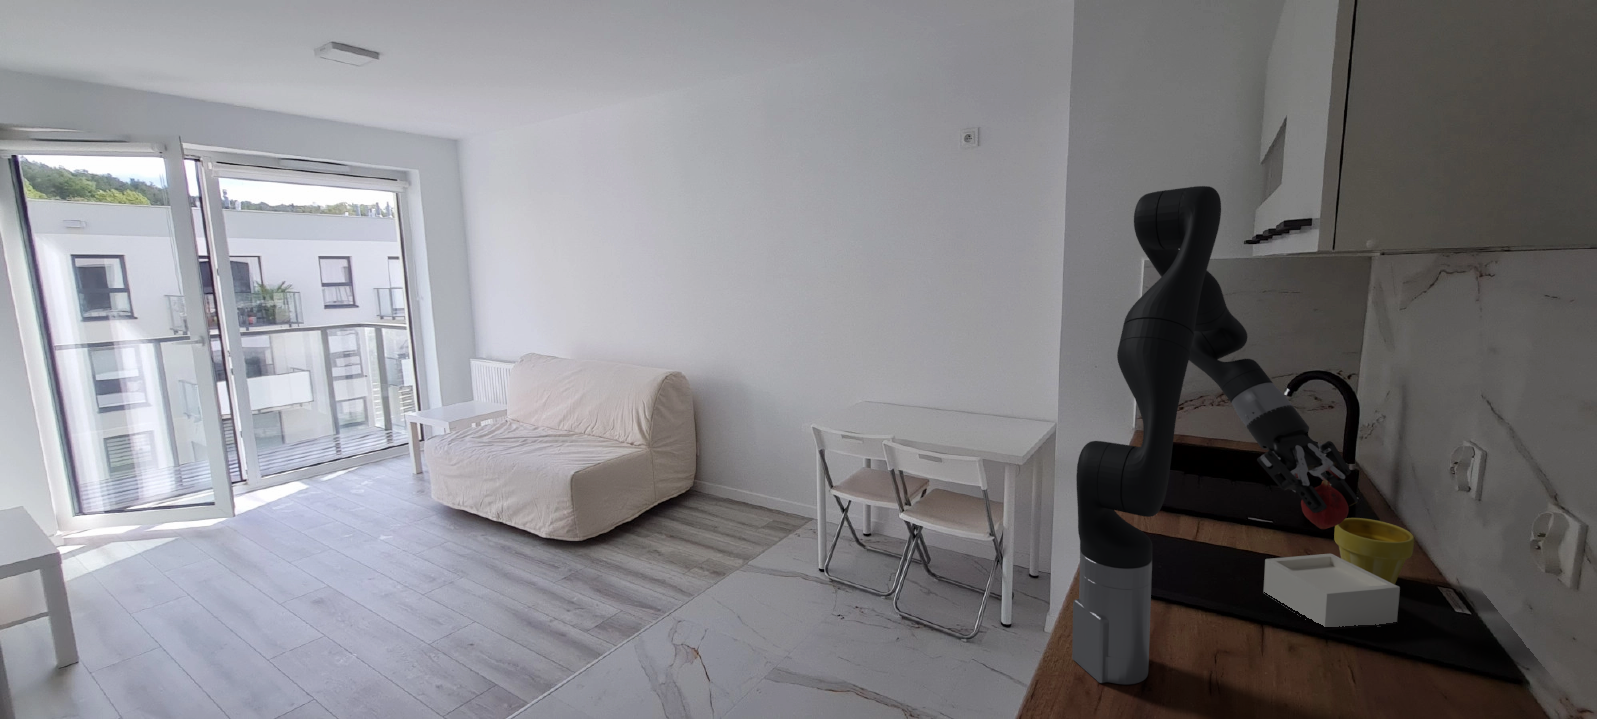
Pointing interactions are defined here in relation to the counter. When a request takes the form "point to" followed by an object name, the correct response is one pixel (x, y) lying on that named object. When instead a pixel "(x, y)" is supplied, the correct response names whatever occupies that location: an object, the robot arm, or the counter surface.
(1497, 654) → the counter surface
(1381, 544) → the plant pot
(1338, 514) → the onion
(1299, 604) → the tray
